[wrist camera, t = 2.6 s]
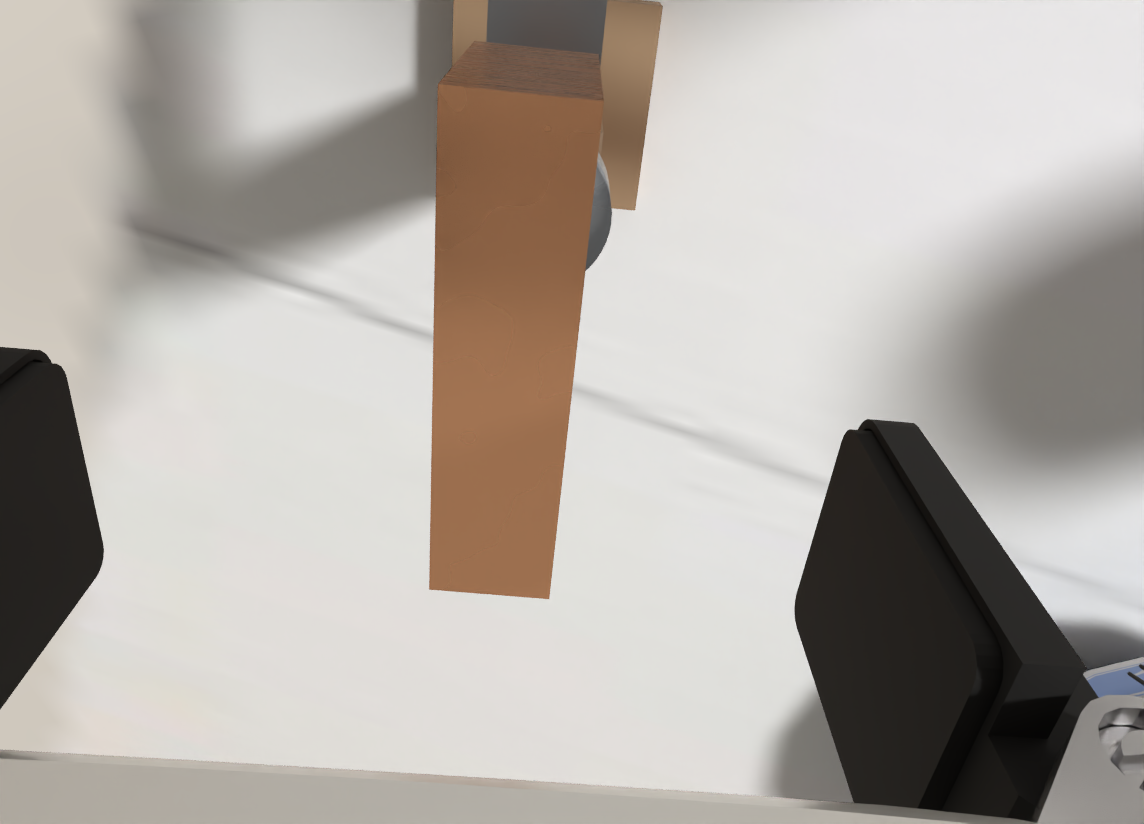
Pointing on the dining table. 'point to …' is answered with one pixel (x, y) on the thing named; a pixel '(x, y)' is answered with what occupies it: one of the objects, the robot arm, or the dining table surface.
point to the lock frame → (622, 82)
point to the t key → (512, 286)
